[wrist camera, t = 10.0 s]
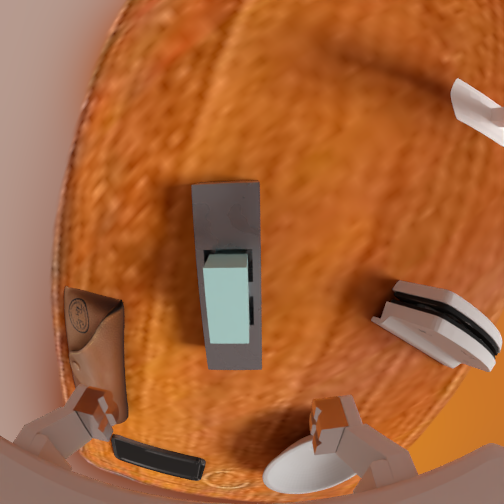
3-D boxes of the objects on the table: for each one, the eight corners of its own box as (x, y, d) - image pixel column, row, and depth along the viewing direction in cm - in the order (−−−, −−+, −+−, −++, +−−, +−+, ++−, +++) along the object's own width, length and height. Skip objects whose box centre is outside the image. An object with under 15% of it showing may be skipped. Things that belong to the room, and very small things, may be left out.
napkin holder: (367, 318, 27) (435, 342, 17) (388, 277, 27) (459, 285, 18) (445, 365, 29) (499, 387, 20) (460, 334, 30) (515, 348, 20)
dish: (322, 473, 36) (327, 495, 31) (243, 462, 34) (242, 488, 29) (390, 409, 31) (402, 434, 26) (303, 392, 30) (309, 423, 25)
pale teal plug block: (214, 243, 24) (203, 268, 18) (248, 243, 24) (246, 267, 18) (218, 306, 26) (210, 343, 20) (249, 305, 26) (249, 343, 20)
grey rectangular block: (200, 182, 23) (191, 184, 20) (258, 180, 23) (259, 182, 20) (212, 347, 28) (208, 369, 24) (260, 347, 28) (261, 369, 24)
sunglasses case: (60, 280, 26) (55, 313, 20) (119, 281, 29) (126, 313, 24) (77, 393, 31) (82, 430, 25) (123, 391, 35) (133, 427, 29)
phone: (200, 481, 36) (115, 458, 34) (200, 476, 37) (116, 453, 36) (206, 462, 33) (110, 435, 32) (206, 457, 34) (112, 430, 33)
